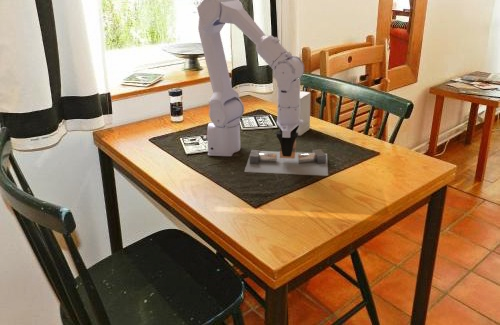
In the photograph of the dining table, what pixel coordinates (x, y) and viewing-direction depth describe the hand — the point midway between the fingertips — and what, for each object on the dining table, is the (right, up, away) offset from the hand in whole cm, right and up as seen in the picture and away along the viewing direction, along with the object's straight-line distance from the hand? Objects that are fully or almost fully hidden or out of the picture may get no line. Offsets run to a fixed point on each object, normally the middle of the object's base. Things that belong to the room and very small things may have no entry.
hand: (287, 152), depth 123 cm
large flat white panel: (0, -4, +2) cm, 4 cm away
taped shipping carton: (0, -1, 0) cm, 1 cm away
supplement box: (+5, +8, +26) cm, 27 cm away
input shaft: (-6, -3, +3) cm, 8 cm away
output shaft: (+6, -3, +2) cm, 8 cm away
